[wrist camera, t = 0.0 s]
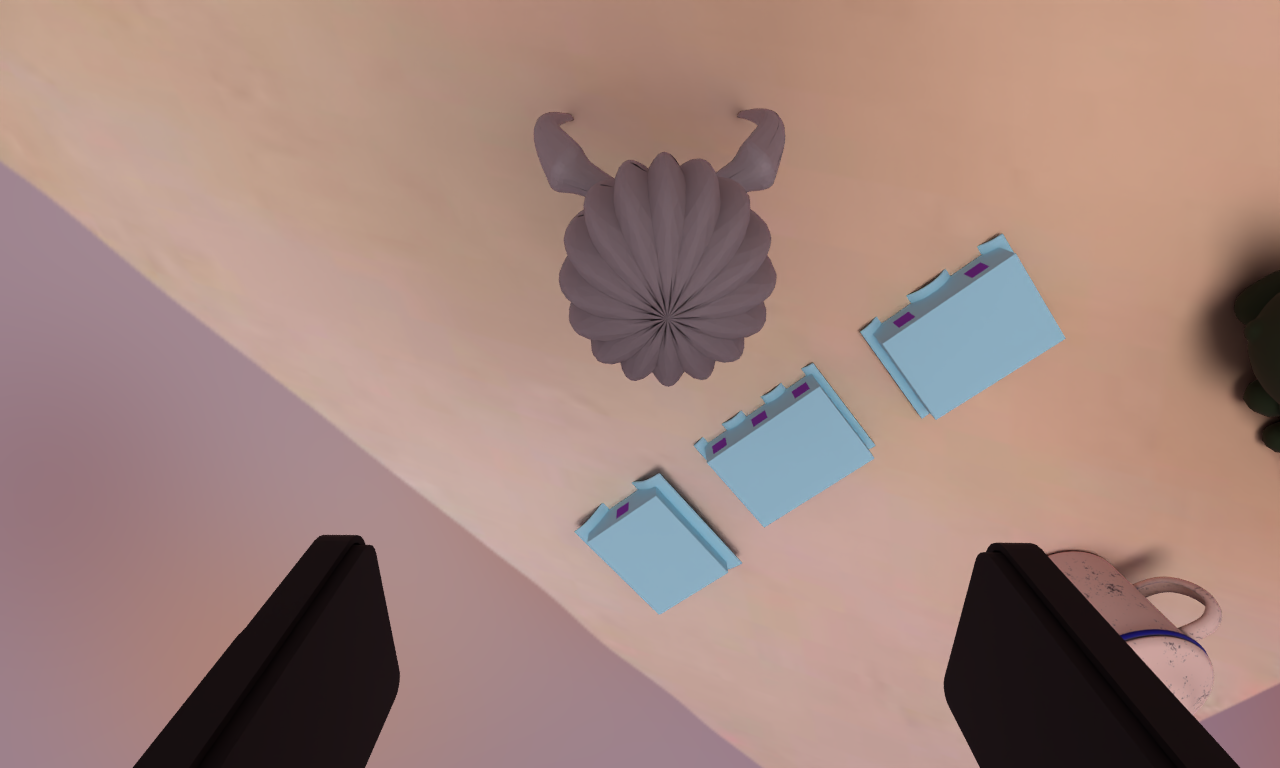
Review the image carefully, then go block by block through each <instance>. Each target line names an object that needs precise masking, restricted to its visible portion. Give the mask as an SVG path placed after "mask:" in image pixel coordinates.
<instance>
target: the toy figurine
mask: <svg viewBox="0 0 1280 768" xmlns="http://www.w3.org/2000/svg"><path fill="white" fill-rule="evenodd" d="M1234 312H1235V315H1236V317H1237V318H1238V319H1239V320H1240V321H1241V322H1242V323H1243V324H1245V325H1246V327H1245V329H1244V335H1245V338H1246V339H1247V340H1248V355H1249V359H1250V363H1251V366H1252V369H1253V372H1254V374H1255V376H1256V378H1257V380H1255V381H1253V382H1252V383H1250V384H1249V385H1248V387H1247V388H1246V390H1245V393H1244V396H1243V399H1244V401H1245V402H1246V404H1247V405H1248V407H1249V408H1250V409H1252V410H1253V411H1254V412H1257V413H1259V414H1262V415H1265V416H1267V417H1274V416H1280V270H1279V271H1276V272H1274V273H1272V274H1270V275H1268V276H1266V277H1265V278H1263V279H1261V280H1259V281H1258V282H1256V283H1254V284H1253V285H1251V286H1250V287H1248V288H1247V289H1245V290H1244V291H1243V292H1242V293H1241V294H1240V295H1239V296H1238V297H1237V298H1236V301H1235V305H1234ZM1262 438H1263V442H1264V443H1265V445H1266V446H1267V447H1269V448H1270V449H1272V450H1273V451H1275V452H1279V453H1280V422H1279V423H1275V424H1272V425H1270V426H1267V427H1266V428H1265V429H1264V431H1263V432H1262Z"/></svg>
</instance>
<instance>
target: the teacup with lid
mask: <svg viewBox="0 0 1280 768" xmlns="http://www.w3.org/2000/svg"><path fill="white" fill-rule="evenodd" d="M1048 557H1049V558H1050V559H1051V560H1052V561H1053V562H1054V564H1055V565H1056V566H1057V567H1058V568H1059V569H1060V570H1061V571H1062V572H1063V573H1064V574H1065V576H1066V577H1067V578H1068V579H1069V580H1070V581H1071V582H1072V583H1073V584H1074V585H1075V587H1076V588H1077V589H1078V590H1079V591H1080V592H1081V593H1082V594H1083V595H1084V596H1085V598H1086V599H1087V600H1088V601H1089V602H1090V603H1091V604H1092V605H1093V606H1094V607H1095V609H1096V610H1097V611H1098V612H1099V613H1100V614H1101V615H1102V616H1103V617H1104V618H1105V620H1106V621H1107V622H1108V623H1109V624H1110V625H1111V626H1112V627H1113V628H1114V629H1115V631H1116V632H1117V633H1118V634H1119V635H1120V636H1121V637H1122V638H1123V639H1124V640H1125V642H1126V643H1127V644H1128V645H1129V646H1130V647H1131V648H1132V649H1133V650H1134V651H1135V653H1136V654H1137V655H1138V656H1139V657H1140V658H1141V659H1142V660H1143V661H1144V662H1145V663H1146V665H1147V666H1148V667H1149V668H1150V669H1151V670H1152V671H1153V672H1154V673H1155V674H1156V676H1157V677H1158V678H1159V679H1160V680H1161V681H1162V682H1163V683H1164V684H1165V685H1166V687H1167V688H1168V689H1169V690H1170V691H1171V692H1172V693H1173V694H1174V695H1175V696H1176V698H1177V699H1178V700H1179V701H1180V702H1181V703H1182V704H1183V705H1184V706H1185V707H1186V709H1187V710H1188V711H1189V712H1190V713H1191V714H1192V715H1193V714H1194V713H1195V712H1196V711H1198V710H1199V708H1200V707H1201V706H1202V705H1203V704H1204V702H1205V701H1206V700H1207V698H1208V696H1209V694H1210V692H1211V690H1212V687H1213V682H1214V671H1213V667H1212V663H1211V661H1210V659H1209V657H1208V655H1207V653H1206V651H1205V650H1204V648H1203V647H1202V646H1201V645H1200V644H1199V643H1198V642H1196V641H1198V640H1200V639H1202V638H1205V637H1207V636H1208V635H1210V634H1212V633H1213V632H1214V631H1215V630H1216V629H1217V628H1218V627H1219V625H1220V623H1221V620H1222V611H1221V608H1220V606H1219V604H1218V603H1217V601H1216V600H1215V598H1214V597H1213V596H1212V595H1211V594H1210V593H1208V592H1207V591H1206V590H1204V589H1203V588H1201V587H1200V586H1198V585H1196V584H1194V583H1191V582H1189V581H1186V580H1182V579H1179V578H1173V577H1154V578H1150V579H1146V580H1143V581H1140V582H1138V583H1135V584H1133V585H1132V584H1131V583H1130V582H1129V581H1128V580H1127V579H1126V578H1125V577H1124V576H1123V575H1122V574H1121V573H1120V572H1118V571H1117V570H1116V569H1115V568H1114V567H1113V566H1112V565H1111V564H1110V563H1109V562H1108V561H1106V560H1105V559H1103V558H1101V557H1099V556H1096V555H1094V554H1090V553H1086V552H1077V551H1071V552H1061V553H1056V554H1052V555H1049V556H1048ZM1163 592H1174V593H1180V594H1183V595H1187V596H1189V597H1192V598H1194V599H1196V600H1197V601H1199V602H1201V603H1202V604H1203V605H1204V606H1206V607H1205V611H1204V613H1203V615H1202V616H1201V617H1200V618H1198V619H1197V620H1195V621H1193V622H1191V623H1189V624H1187V625H1184V626H1182V627H1179V628H1177V627H1175V626H1174V625H1173V624H1172V623H1171V622H1170V621H1169V620H1168V619H1167V618H1166V617H1165V616H1164V615H1163V614H1162V613H1161V612H1160V611H1159V610H1158V609H1157V608H1156V607H1155V606H1154V605H1153V604H1152V603H1151V602H1150V601H1149V600H1148V599H1146V597H1148V596H1151V595H1154V594H1158V593H1163Z"/></svg>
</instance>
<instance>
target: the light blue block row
mask: <svg viewBox="0 0 1280 768" xmlns="http://www.w3.org/2000/svg"><path fill="white" fill-rule="evenodd" d="M977 248H978V249H979V251H980V253H981V254H982V255H980V256H979V257H978V258H976V259H975V260H973V261H972V262H970V263H969V264H967V265H966V266H964V267H963V268H962V269H960V270H959V271H957V272H956V273H954V274H953V275H951V276H950V275H949V274H948V272H947V271H946V269H944V270H943V271H942V272H941V274H940V275H939V276H938V277H937V278H936V279H935V280H933V281H932V282H931V283H930V284H928V285H927V286H925V287H923V288H922V289H920V290H918V291H916V292H913V293H911V294H908V295H907V298H908V299H909V301H910V302H911V304H909V305H908V306H906V307H905V308H903V309H902V310H901V311H899V312H898V313H896V314H895V315H893V316H892V317H890V318H889V319H888V320H886V321H885V322H883V323H882V324H881V322H880V321H879V319H878V318H877V317H875V318H874V319H873V320H872V322H871V323H870V324H869V325H868V326H867V327H866V328H864V329H863V330H862V331H860V333H861V334H862V335H863V337H864V338H865V340H866V341H867V342H868V344H869V345H870V347H871V348H872V349H873V351H874V352H875V354H876V355H877V356H878V358H879V359H880V361H881V362H882V363H883V365H884V366H885V368H886V369H887V371H888V372H889V373H890V375H891V376H892V378H893V379H894V380H895V382H896V383H897V385H898V386H899V387H900V389H901V390H902V392H903V393H904V394H905V396H906V397H907V399H908V400H909V401H910V403H911V404H912V406H913V407H914V408H915V410H916V411H917V413H918V414H919V415H920V417H921V418H924V417H925V416H926V415H928V414H929V413H930V414H931V415H932V416H933V417H934V418H935V419H936V420H937V419H938V418H940V417H941V416H943V415H945V414H946V413H948V412H949V411H951V410H953V409H954V408H956V407H957V406H959V405H960V404H962V403H964V402H965V401H967V400H968V399H970V398H972V397H973V396H975V395H976V394H978V393H980V392H981V391H983V390H984V389H986V388H988V387H989V386H991V385H992V384H994V383H996V382H997V381H999V380H1000V379H1002V378H1004V377H1005V376H1007V375H1008V374H1010V373H1012V372H1013V371H1015V370H1016V369H1018V368H1020V367H1021V366H1023V365H1024V364H1026V363H1028V362H1029V361H1031V360H1032V359H1034V358H1035V357H1037V356H1039V355H1040V354H1042V353H1043V352H1045V351H1047V350H1048V349H1050V348H1051V347H1053V346H1055V345H1056V344H1058V343H1059V342H1061V341H1063V340H1064V339H1066V338H1065V337H1064V335H1063V333H1062V332H1061V330H1060V328H1059V326H1058V325H1057V323H1056V321H1055V320H1054V318H1053V316H1052V314H1051V313H1050V311H1049V309H1048V308H1047V306H1046V304H1045V303H1044V301H1043V299H1042V297H1041V296H1040V294H1039V292H1038V291H1037V289H1036V287H1035V285H1034V284H1033V282H1032V280H1031V279H1030V277H1029V275H1028V273H1027V272H1026V270H1025V268H1024V267H1023V265H1022V263H1021V262H1020V260H1019V258H1018V256H1017V255H1016V253H1014V252H1013V250H1012V249H1011V247H1010V245H1009V243H1008V242H1007V240H1006V238H1005V237H1004V235H1003V234H1000V235H999V236H997V237H996V238H994V239H992V240H990V241H988V242H986V243H984V244H981V245H979V246H977ZM802 371H803V372H804V373H805V375H806V376H805V377H803V378H802V379H800V380H799V381H798V382H796V383H795V384H793V385H792V386H790V387H789V388H787V389H786V388H785V387H784V386H783V385H782V383H780V384H779V385H778V386H777V387H776V388H775V389H774V390H772V391H771V392H769V393H768V394H765V395H763V396H761V398H762V399H763V400H764V402H765V403H766V404H764V405H763V406H761V407H760V408H758V409H757V410H755V411H754V412H753V413H751V414H750V415H748V416H747V417H746V416H745V414H744V413H743V412H742V411H740V412H739V413H738V414H737V415H736V416H734V417H733V418H732V419H730V420H729V421H727V422H724V423H722V425H723V426H724V427H725V429H726V431H725V432H723V433H722V434H721V435H719V436H718V437H716V438H715V439H713V440H712V441H710V442H709V443H708V442H707V441H706V440H705V439H704V438H703V437H702V438H701V439H700V440H699V441H698V442H697V443H696V444H694V447H695V448H696V449H697V450H698V451H699V452H700V453H701V455H702V456H703V457H704V458H705V459H706V460H707V463H708V464H709V466H710V467H711V468H712V469H713V470H714V471H715V472H716V474H717V475H718V476H719V477H720V478H721V479H722V480H723V481H724V483H725V484H726V485H727V486H728V487H729V488H730V489H731V491H732V492H733V493H734V494H735V495H736V496H737V497H738V498H739V500H740V501H741V502H742V503H743V504H744V505H745V506H746V507H747V509H748V510H749V511H750V512H751V513H752V514H753V515H754V517H755V518H756V519H757V520H758V521H759V522H760V523H761V524H762V526H763V527H766V526H767V525H769V524H771V523H772V522H774V521H775V520H777V519H779V518H780V517H782V516H783V515H785V514H787V513H788V512H790V511H791V510H793V509H795V508H796V507H798V506H799V505H801V504H803V503H804V502H806V501H807V500H809V499H811V498H812V497H814V496H815V495H817V494H818V493H820V492H822V491H823V490H825V489H826V488H828V487H830V486H831V485H833V484H834V483H836V482H838V481H839V480H841V479H842V478H844V477H846V476H847V475H849V474H850V473H852V472H854V471H855V470H857V469H858V468H860V467H862V466H863V465H865V464H866V463H868V462H870V461H871V460H873V459H874V457H873V455H872V454H871V452H870V451H869V449H870V448H873V447H874V446H875V444H874V443H873V442H872V440H871V439H870V438H869V436H868V435H867V434H866V432H865V431H864V430H863V428H862V427H861V426H860V424H859V423H858V422H857V420H856V419H855V418H854V416H853V415H852V414H851V412H850V411H849V410H848V409H847V407H846V406H845V405H844V403H843V402H842V401H841V399H840V398H839V397H838V395H837V394H836V393H835V391H834V390H833V389H832V387H831V386H830V385H829V383H828V382H827V381H826V379H825V378H824V377H823V376H822V374H821V373H820V372H819V370H818V369H817V368H816V366H815V365H814V364H813V363H811V364H810V365H808V366H806V367H803V368H802ZM632 484H633V485H634V486H635V487H636V488H637V489H638V490H637V491H635V492H634V493H633V494H631V495H630V496H628V497H627V498H625V499H624V500H622V501H621V502H620V503H618V504H617V505H615V506H614V507H612V508H611V509H609V508H608V507H607V506H606V505H605V504H604V503H602V504H601V505H600V506H599V507H598V509H597V510H596V511H595V512H594V514H593V515H592V516H591V517H590V518H589V519H588V520H587V521H586V522H585V523H584V524H583V525H582V526H581V527H580V528H578V529H577V530H576V531H575V533H576V534H577V535H578V536H579V537H580V538H581V539H582V540H583V541H584V542H585V543H586V544H587V545H588V546H589V547H590V548H591V549H592V550H593V551H594V552H595V553H596V554H597V555H598V556H600V557H601V558H602V559H603V560H604V561H605V562H606V563H607V564H608V565H609V566H610V567H611V568H612V569H613V570H614V571H615V572H616V573H617V574H618V575H619V576H620V577H621V578H622V579H623V580H624V581H625V582H626V583H627V584H628V585H629V586H630V587H631V588H632V589H633V590H634V591H635V592H636V593H637V594H638V595H639V596H640V597H641V598H642V599H643V600H645V601H646V602H647V603H648V604H649V605H650V606H651V607H652V608H653V609H654V610H655V611H656V612H657V613H658V614H662V613H663V612H665V611H667V610H668V609H670V608H671V607H673V606H675V605H676V604H678V603H680V602H681V601H683V600H684V599H686V598H688V597H689V596H691V595H693V594H694V593H696V592H697V591H699V590H701V589H702V588H704V587H706V586H707V585H709V584H710V583H712V582H714V581H715V580H717V579H719V578H720V577H722V576H723V575H725V574H727V573H728V569H731V568H733V567H736V566H738V565H740V564H742V562H741V561H740V560H739V559H738V558H737V557H736V556H735V554H734V553H733V552H732V551H731V550H730V549H729V548H728V547H727V546H726V545H725V544H724V542H723V541H722V540H721V539H720V538H719V537H718V536H717V535H716V534H715V533H714V532H713V531H712V529H711V528H710V527H709V526H708V525H707V524H706V523H705V522H704V521H703V520H702V519H701V518H700V516H699V515H698V514H697V513H696V512H695V511H694V510H693V509H692V508H691V507H690V506H689V505H688V503H687V502H686V501H685V500H684V499H683V498H682V497H681V496H680V495H679V494H678V493H677V491H676V490H675V489H674V488H673V487H672V486H671V485H670V484H669V483H668V482H667V481H666V480H665V478H664V477H663V476H662V475H661V474H660V473H658V474H656V475H655V476H653V477H651V478H649V479H647V480H644V481H634V482H632Z"/></svg>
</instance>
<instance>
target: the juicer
mask: <svg viewBox="0 0 1280 768" xmlns="http://www.w3.org/2000/svg"><path fill="white" fill-rule="evenodd" d="M737 117H739V118H743V119H747V120H750V121H752V122H754V123H755V124H757V127H756V129H755V130H754V131H753V132H752V134H751V135H750V136H749V137H748V138H747V139H746V141H745V142H744V143H743V144H742V145H741V147H740V148H739V150H738V152H737V154H736V156H735V157H734V159H733V160H732V161H731V162H730V163H728V164H727V165H726V166H724V167H723V168H722V169H720V170H719V171H718V172H715V170H714V169H713V167H712V166H711V164H710V163H709V162H707V161H706V160H703V159H692V160H689V161H687V162H685V163H684V164H682V165H681V166H679V164H678V163H677V161H676V159H675V158H674V157H673V156H672V155H671V154H669V153H667V152H662V153H660V154H658V155H657V156H656V158H655V159H654V160H653V162H652V164H651V166H650V167H649V169H648V168H647V167H646V166H645V165H643V164H641V163H639V162H637V161H634V160H627V161H625V162H624V163H623V164H622V165H621V166H620V167H619V169H618V172H617V174H616V177H615V179H614V178H612V177H611V176H609V175H608V174H606V173H605V172H603V171H602V170H601V169H599V168H598V167H596V166H595V165H594V164H592V163H591V162H590V161H589V159H588V158H587V157H586V155H585V153H584V152H583V150H582V148H581V147H580V146H579V144H578V143H576V142H575V141H574V140H573V139H572V138H571V137H570V136H569V135H568V134H567V133H566V132H564V131H563V130H562V129H561V128H560V125H562V124H563V123H566V122H568V121H572V120H573V117H572V115H570V114H567V113H560V112H549V113H546V114H543V115H542V116H540V117H539V118H538V120H537V122H536V124H535V127H534V142H535V147H536V151H537V154H538V157H539V160H540V163H541V165H542V168H543V170H544V173H545V175H546V177H547V179H548V182H549V184H550V186H551V188H552V189H553V190H555V191H557V192H563V193H574V194H578V195H581V196H585V201H584V210H582V211H581V212H579V213H578V214H577V215H576V216H575V217H574V218H573V219H572V220H571V222H570V224H569V225H568V227H567V229H566V232H565V236H564V244H565V249H566V252H567V257H566V259H565V261H564V263H563V265H562V267H561V270H560V273H559V283H560V287H561V291H562V292H563V294H564V295H565V297H566V298H567V299H568V300H569V301H570V302H571V304H570V309H569V321H570V324H571V326H572V327H573V329H574V331H576V332H577V333H578V334H579V335H581V336H583V337H585V338H588V339H591V346H592V352H593V355H594V356H595V357H596V358H597V360H598V361H600V362H602V363H607V364H615V363H619V362H621V366H622V370H623V372H624V374H625V376H626V377H627V378H629V379H630V380H633V381H637V380H640V379H643V378H645V377H646V376H648V375H649V374H650V373H651V372H653V374H654V375H655V376H656V378H657V379H658V380H659V382H660V383H661V384H662V385H664V386H668V387H669V386H672V385H674V384H675V383H676V382H677V381H678V380H679V379H680V377H681V376H682V374H683V373H684V371H685V372H686V373H687V374H689V375H690V376H692V377H693V378H696V379H700V380H704V379H707V378H708V377H709V376H710V375H711V373H712V371H713V369H714V365H715V361H720V362H724V363H725V362H733V361H735V360H737V359H739V358H740V356H741V355H742V353H743V349H744V337H749V336H751V335H753V334H755V333H757V332H759V331H760V330H761V329H762V327H763V325H764V323H765V321H766V308H765V305H764V302H763V301H764V300H765V299H766V298H768V297H769V296H770V295H771V293H772V291H773V289H774V288H775V284H776V272H775V270H774V267H773V265H772V262H771V260H770V259H769V257H768V256H767V254H768V251H769V248H770V244H771V235H770V231H769V229H768V227H767V224H766V223H765V222H764V221H763V220H762V219H761V218H760V217H759V216H758V215H757V214H756V213H755V212H753V211H752V210H751V209H750V199H749V195H748V194H747V192H749V191H760V190H764V189H767V188H769V187H771V186H772V184H773V183H774V180H775V177H776V174H777V171H778V167H779V164H780V160H781V157H782V153H783V149H784V143H785V130H784V124H783V122H782V120H781V118H780V117H779V116H778V114H777V113H775V112H774V111H772V110H769V109H751V110H745V111H741V112H740V113H739V114H738V116H737Z"/></svg>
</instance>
